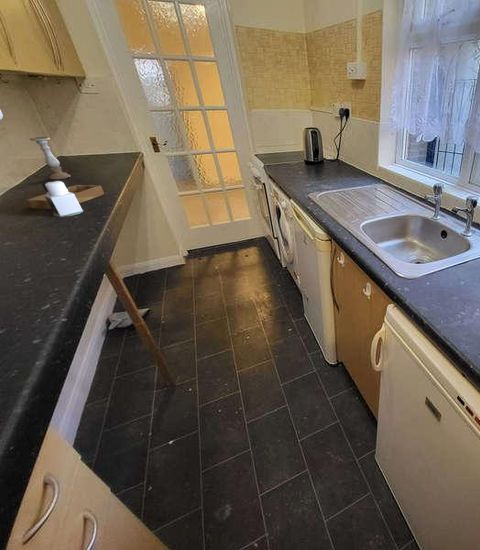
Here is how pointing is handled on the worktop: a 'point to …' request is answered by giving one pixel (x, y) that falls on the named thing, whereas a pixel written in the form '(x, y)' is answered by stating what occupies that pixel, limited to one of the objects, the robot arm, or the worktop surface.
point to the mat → (68, 214)
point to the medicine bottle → (61, 198)
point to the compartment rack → (79, 191)
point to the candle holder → (50, 159)
